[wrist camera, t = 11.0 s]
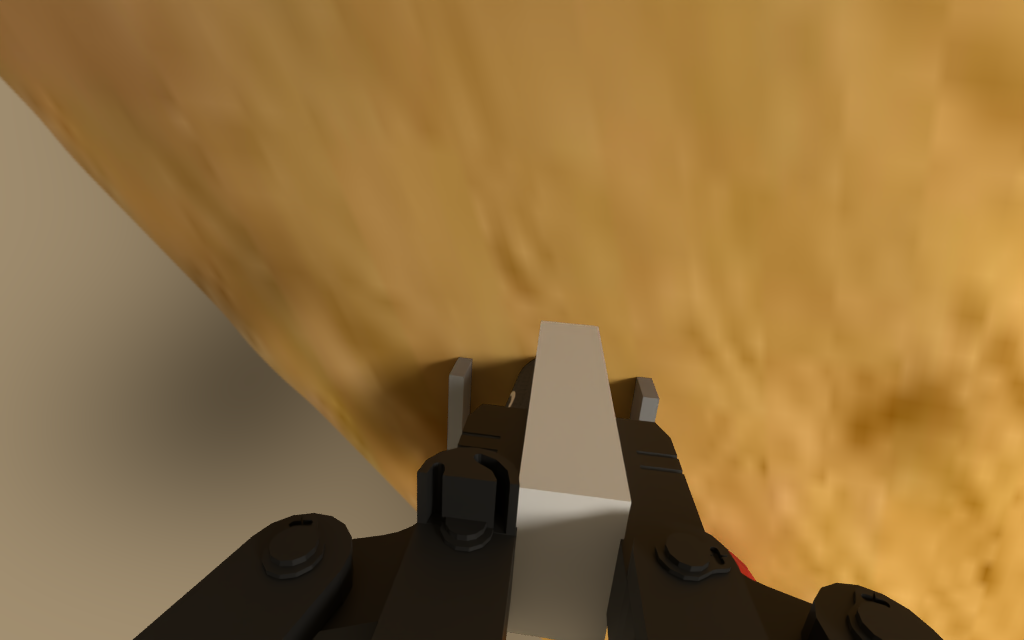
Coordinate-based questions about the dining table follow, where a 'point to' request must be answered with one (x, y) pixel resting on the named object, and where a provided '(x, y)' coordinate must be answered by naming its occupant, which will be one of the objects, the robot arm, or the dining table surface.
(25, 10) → the dining table surface
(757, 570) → the dining table surface
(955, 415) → the dining table surface
